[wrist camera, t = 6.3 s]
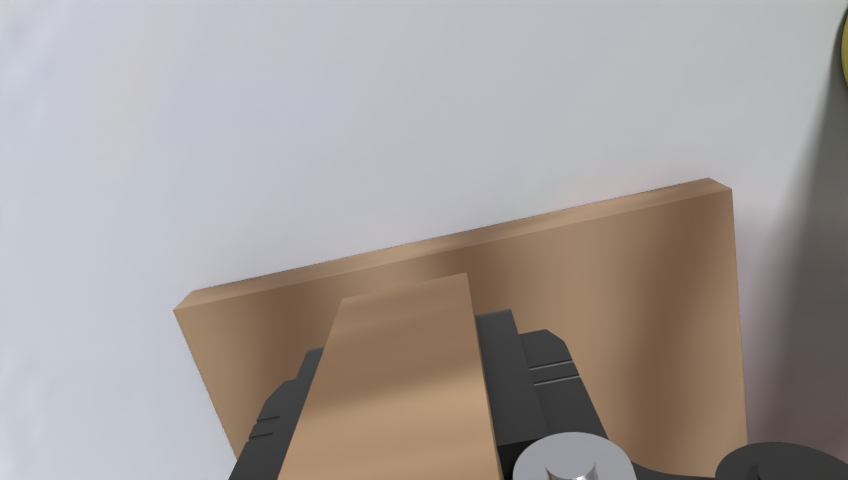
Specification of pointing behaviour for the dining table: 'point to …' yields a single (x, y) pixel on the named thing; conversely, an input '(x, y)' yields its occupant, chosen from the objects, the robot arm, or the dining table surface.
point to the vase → (845, 51)
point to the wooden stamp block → (399, 392)
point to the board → (533, 316)
